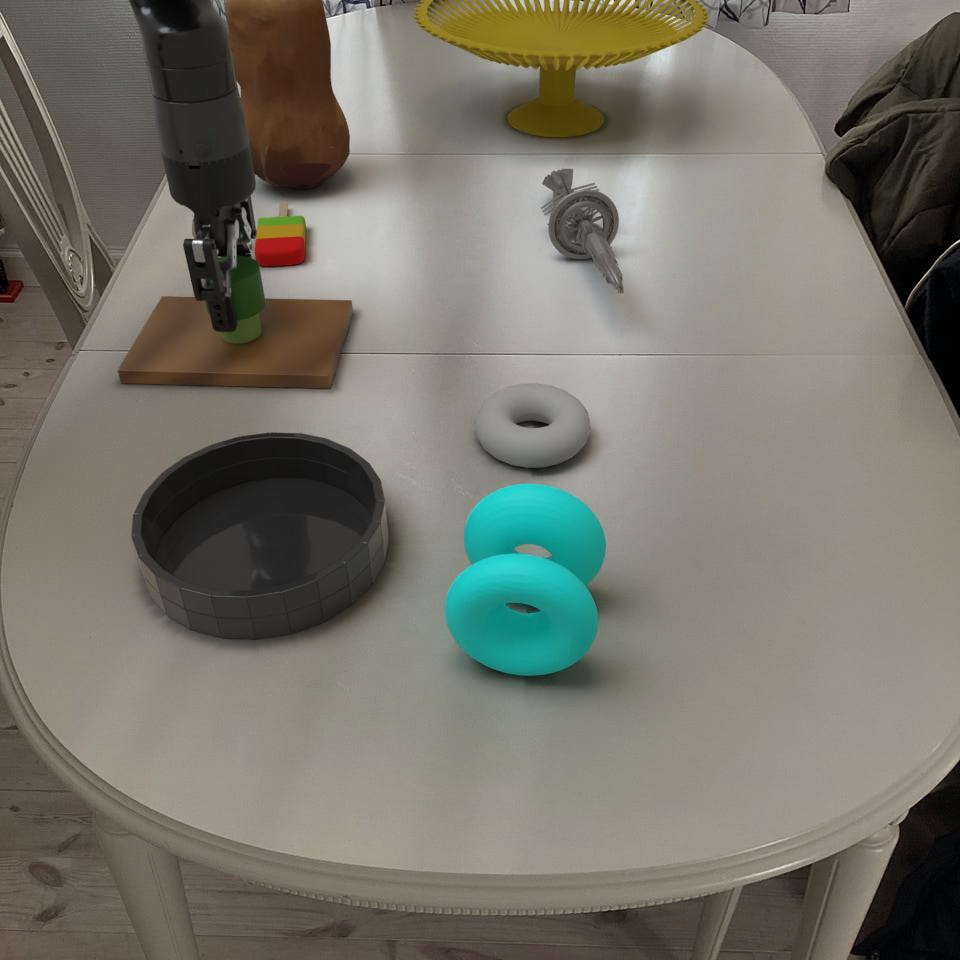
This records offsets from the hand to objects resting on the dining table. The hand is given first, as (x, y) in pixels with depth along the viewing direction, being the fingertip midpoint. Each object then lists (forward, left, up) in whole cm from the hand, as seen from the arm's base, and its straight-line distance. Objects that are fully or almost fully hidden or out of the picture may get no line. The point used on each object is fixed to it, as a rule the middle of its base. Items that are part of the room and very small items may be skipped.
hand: (235, 308), depth 98 cm
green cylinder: (0, 0, -3) cm, 3 cm away
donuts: (+29, -36, -4) cm, 46 cm away
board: (0, 0, -4) cm, 4 cm away
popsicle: (-1, +24, -4) cm, 24 cm away
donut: (+29, -14, -4) cm, 33 cm away
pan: (+9, -29, -4) cm, 31 cm away
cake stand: (+31, +63, -4) cm, 70 cm away
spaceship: (+34, +20, -4) cm, 40 cm away
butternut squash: (-2, +39, -4) cm, 39 cm away
